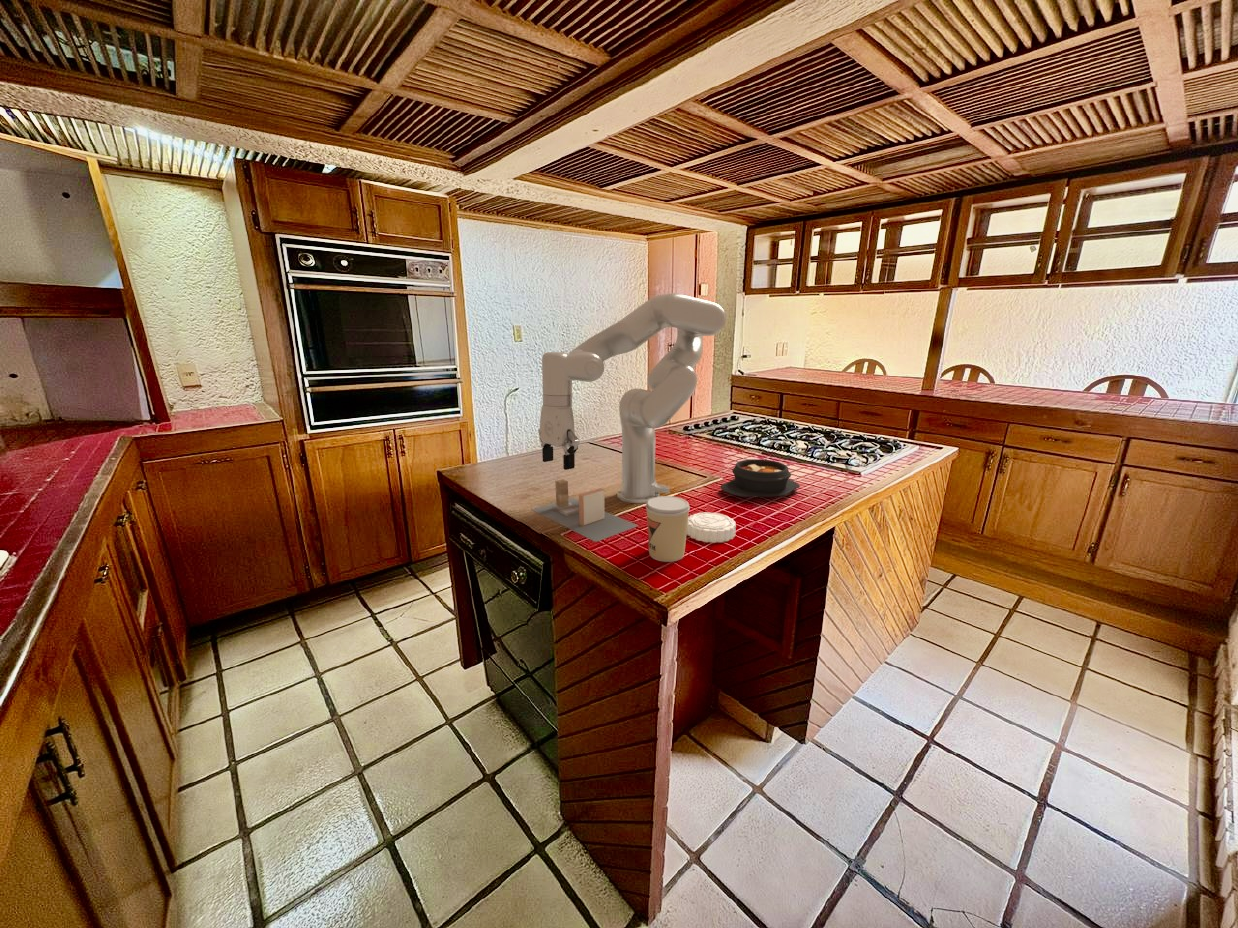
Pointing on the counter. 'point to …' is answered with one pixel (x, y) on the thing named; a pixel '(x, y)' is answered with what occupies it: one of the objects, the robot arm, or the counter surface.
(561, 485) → the wooden stand
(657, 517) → the coffee cup
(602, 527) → the mat
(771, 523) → the counter surface
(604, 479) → the counter surface
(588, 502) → the tile
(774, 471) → the casserole
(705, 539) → the mooncake
